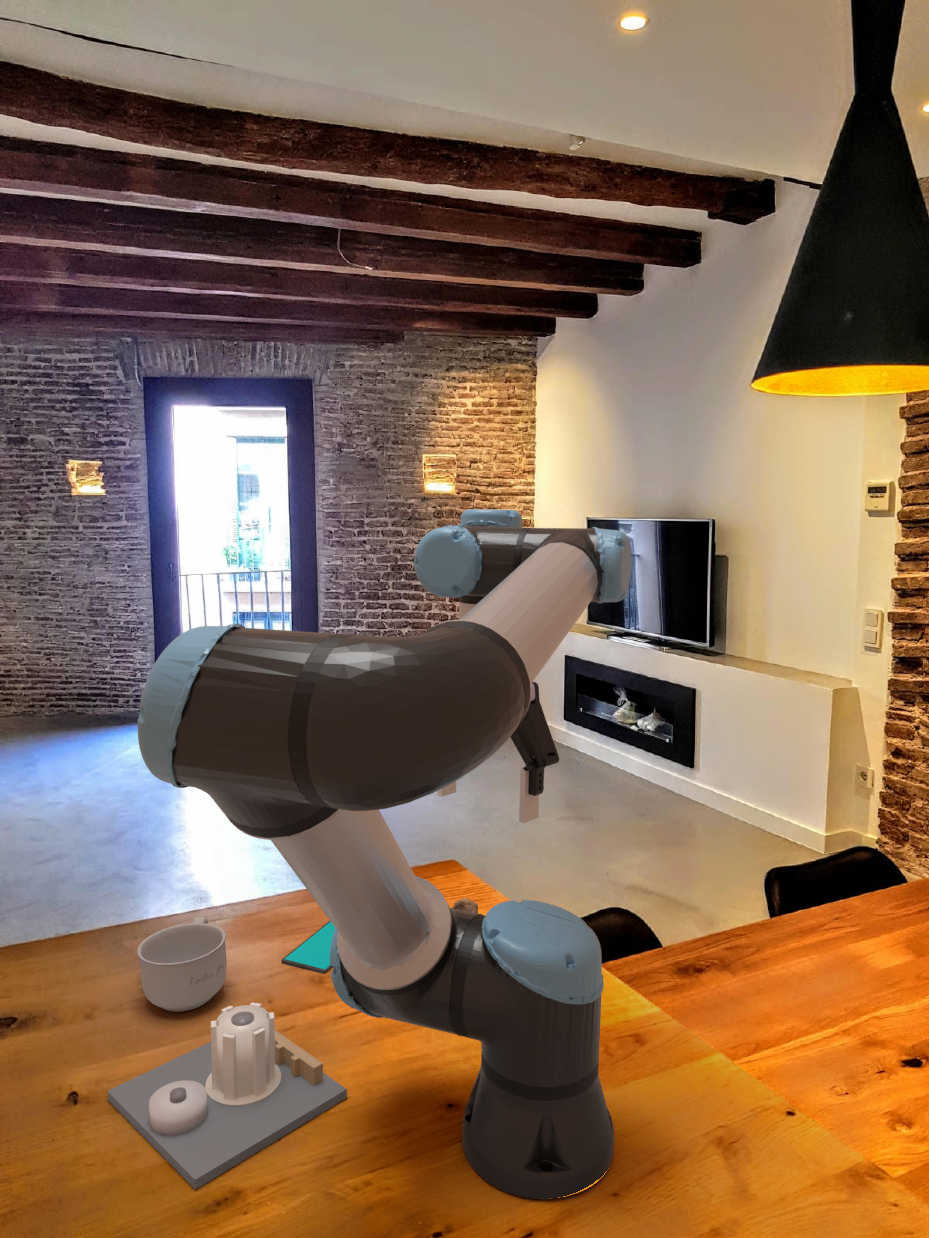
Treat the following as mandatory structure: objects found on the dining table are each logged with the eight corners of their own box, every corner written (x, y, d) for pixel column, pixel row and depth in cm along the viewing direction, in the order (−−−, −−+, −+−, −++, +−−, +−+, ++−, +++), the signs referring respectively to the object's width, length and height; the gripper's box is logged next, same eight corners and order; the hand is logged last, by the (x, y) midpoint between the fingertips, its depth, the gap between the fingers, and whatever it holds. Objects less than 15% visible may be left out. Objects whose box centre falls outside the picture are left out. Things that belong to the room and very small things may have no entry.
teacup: (201, 1027, 106) (200, 965, 105) (121, 1016, 108) (119, 955, 107) (251, 970, 120) (250, 914, 119) (179, 961, 122) (178, 906, 121)
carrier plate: (346, 1097, 94) (346, 1066, 93) (195, 1189, 81) (194, 1153, 80) (252, 1029, 106) (252, 1001, 106) (107, 1099, 93) (106, 1068, 92)
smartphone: (280, 959, 122) (336, 915, 135) (280, 965, 122) (336, 920, 136) (325, 971, 119) (377, 924, 133) (325, 977, 119) (377, 930, 133)
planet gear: (285, 1080, 95) (285, 1017, 94) (234, 1108, 90) (233, 1043, 89) (251, 1054, 99) (250, 994, 98) (201, 1079, 95) (200, 1017, 94)
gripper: (592, 645, 100) (586, 823, 102) (438, 624, 117) (436, 778, 119) (552, 652, 94) (547, 840, 97) (396, 629, 111) (395, 790, 114)
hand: (486, 806), depth 108 cm, fingers open, 13 cm apart
